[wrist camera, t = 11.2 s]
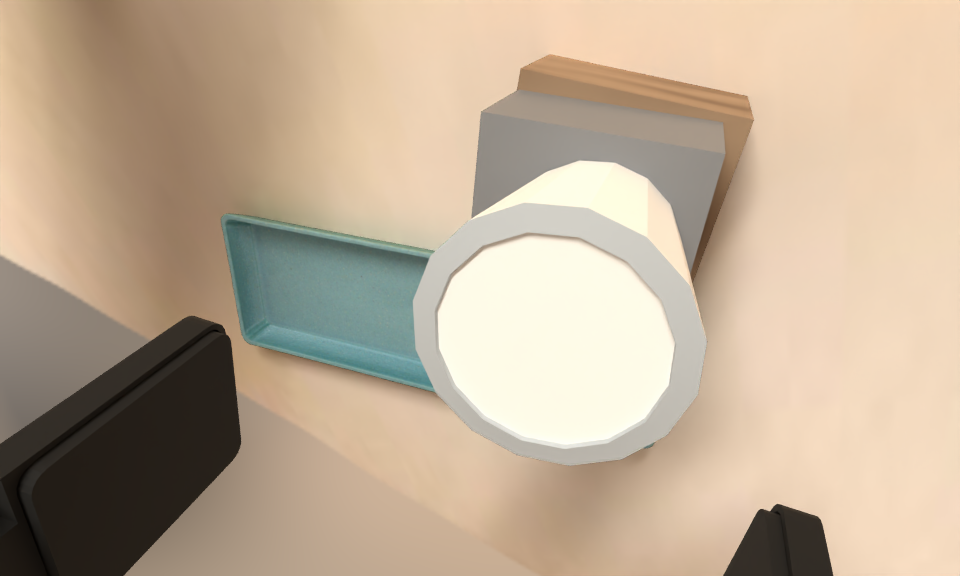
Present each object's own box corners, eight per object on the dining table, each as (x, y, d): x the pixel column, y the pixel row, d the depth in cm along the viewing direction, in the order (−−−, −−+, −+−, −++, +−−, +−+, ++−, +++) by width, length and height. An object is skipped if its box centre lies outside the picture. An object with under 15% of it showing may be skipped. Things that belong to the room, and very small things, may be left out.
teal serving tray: (261, 328, 41) (237, 347, 39) (242, 200, 37) (213, 214, 35) (656, 423, 34) (652, 453, 32) (689, 279, 30) (687, 303, 28)
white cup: (707, 334, 20) (716, 476, 14) (509, 339, 22) (442, 463, 16) (694, 123, 17) (696, 184, 11) (473, 155, 20) (378, 220, 14)
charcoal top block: (518, 89, 23) (481, 111, 19) (722, 122, 21) (725, 153, 17) (498, 264, 27) (463, 311, 23) (671, 304, 25) (663, 363, 21)
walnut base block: (550, 53, 27) (520, 68, 23) (747, 95, 25) (753, 119, 21) (516, 226, 31) (486, 265, 27) (682, 272, 29) (677, 322, 25)
